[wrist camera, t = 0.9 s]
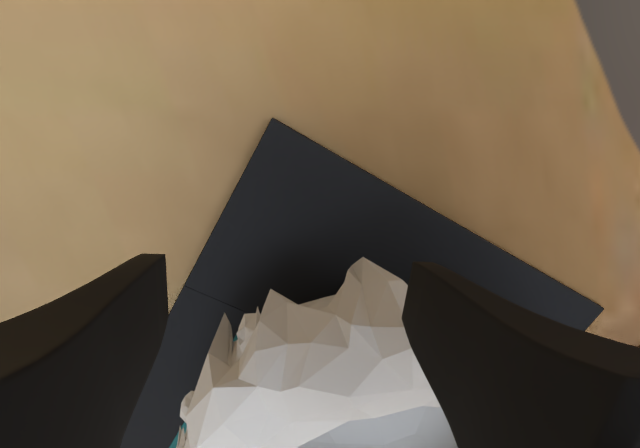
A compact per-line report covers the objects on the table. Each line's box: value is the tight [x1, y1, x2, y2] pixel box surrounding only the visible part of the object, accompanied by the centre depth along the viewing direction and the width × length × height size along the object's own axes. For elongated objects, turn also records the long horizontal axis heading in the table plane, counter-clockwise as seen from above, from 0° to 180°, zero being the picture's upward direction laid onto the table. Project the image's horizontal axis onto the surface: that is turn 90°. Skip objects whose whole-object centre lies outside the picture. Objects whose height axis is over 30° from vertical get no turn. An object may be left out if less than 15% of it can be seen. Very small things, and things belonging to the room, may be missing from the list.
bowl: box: [176, 257, 458, 448], centre depth 21 cm, size 21×20×10 cm
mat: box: [120, 118, 604, 448], centre depth 27 cm, size 31×24×1 cm
